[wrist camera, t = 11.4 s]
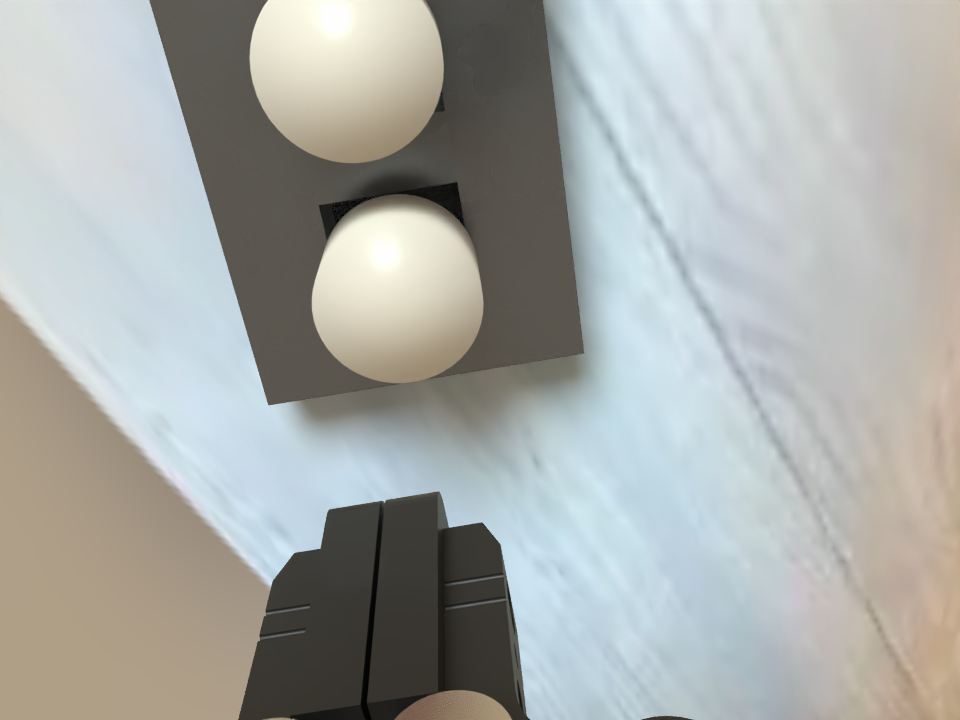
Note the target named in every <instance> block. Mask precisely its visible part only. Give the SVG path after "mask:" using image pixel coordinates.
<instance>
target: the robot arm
mask: <svg viewBox="0 0 960 720" xmlns="http://www.w3.org/2000/svg"><path fill="white" fill-rule="evenodd" d="M238 720H530V719H529V718H528V717H527V715H526V706H525V697H524V690H523V680H522V671H521V664H520V653H519V644H518V635H517V629H516V623H515V618H514V613H513V608H512V602H511V597H510V592H509V587H508V581H507V576H506V571H505V566H504V561H503V555H502V550H501V545H500V543H499V542H498V541H497V540H496V538H495V537H494V536H493V535H492V534H491V532H490V531H489V530H488V529H487V528H486V526H485V525H484V524H483V523H476V524H470V525H464V526H458V527H452V528H449V526H448V522H447V517H446V513H445V508H444V504H443V500H442V497H441V494H440V492H433V493H427V494H421V495H414V496H408V497H402V498H396V499H390V500H386V502H385V503H384V502H383V501H379V502H373V503H366V504H360V505H354V506H348V507H342V508H336V509H330V510H329V511H328V513H327V517H326V522H325V528H324V533H323V539H322V544H321V549H316V550H310V551H304V552H298V553H294V554H293V556H292V557H291V558H290V560H289V561H288V562H287V563H286V565H285V566H284V567H283V569H282V570H281V571H280V572H279V574H278V575H277V576H276V578H275V579H274V580H273V583H272V587H271V591H270V595H269V599H268V603H267V607H266V616H264V619H263V623H262V627H261V631H260V641H258V643H257V647H256V651H255V656H254V659H253V663H252V667H251V671H250V675H249V679H248V684H247V688H246V691H245V696H244V699H243V704H242V707H241V711H240V715H239V719H238ZM642 720H692V719H687V718H683V717H674V716H658V717H651V718H646V719H642Z"/></svg>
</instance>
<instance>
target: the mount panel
mask: <svg viewBox="0 0 960 720" xmlns="http://www.w3.org/2000/svg"><path fill="white" fill-rule="evenodd" d="M267 1H268V0H150V4H151V7H152V11H153V14H154V17H155V21H156V24H157V28H158V31H159V34H160V38H161V41H162V45H163V48H164V51H165V55H166V58H167V62H168V65H169V68H170V72H171V75H172V79H173V82H174V85H175V89H176V92H177V96H178V99H179V102H180V106H181V109H182V113H183V116H184V119H185V123H186V126H187V130H188V133H189V136H190V140H191V143H192V147H193V150H194V153H195V157H196V160H197V164H198V167H199V170H200V174H201V177H202V181H203V184H204V188H205V191H206V194H207V198H208V201H209V205H210V208H211V211H212V215H213V218H214V222H215V225H216V228H217V232H218V235H219V239H220V242H221V245H222V249H223V252H224V256H225V259H226V262H227V266H228V269H229V273H230V276H231V279H232V283H233V286H234V290H235V293H236V296H237V300H238V303H239V307H240V310H241V313H242V317H243V320H244V324H245V327H246V330H247V334H248V337H249V341H250V344H251V347H252V351H253V354H254V358H255V361H256V364H257V368H258V371H259V375H260V378H261V381H262V385H263V388H264V392H265V395H266V398H267V402H268V405H273V404H279V403H285V402H291V401H298V400H304V399H310V398H316V397H322V396H328V395H334V394H340V393H346V392H352V391H358V390H364V389H370V388H376V387H383V386H389V385H395V384H401V383H388V382H381V381H377V380H373V379H370V378H367V377H364V376H362V375H360V374H358V373H356V372H354V371H352V370H350V369H349V368H348V367H346V366H345V365H343V364H342V363H341V362H340V361H339V360H337V359H336V358H335V357H334V356H333V355H332V353H331V352H330V351H329V350H328V349H327V347H326V346H325V344H324V343H323V341H322V340H321V338H320V336H319V333H318V331H317V329H316V326H315V323H314V319H313V313H312V292H313V287H314V283H315V279H316V276H317V272H318V269H319V266H320V263H321V259H322V256H323V253H324V249H325V246H326V243H327V241H328V238H329V236H330V234H331V232H332V231H333V229H334V227H335V226H336V222H335V218H334V213H333V209H332V205H331V203H336V202H342V201H348V200H354V199H360V198H366V197H371V196H377V195H383V194H389V193H395V192H401V191H407V190H413V189H419V188H425V187H431V186H437V185H443V184H449V183H455V182H457V184H458V190H459V195H460V201H461V207H462V213H463V219H464V225H465V229H466V230H467V232H468V234H469V236H470V238H471V240H472V242H473V245H474V248H475V252H476V256H477V262H478V268H479V274H480V281H481V287H482V293H483V316H482V322H481V325H480V328H479V331H478V334H477V336H476V338H475V340H474V342H473V344H472V345H471V347H470V348H469V350H468V351H467V352H466V353H465V354H464V356H463V357H462V358H461V359H460V360H459V361H457V362H456V363H455V364H454V365H453V366H451V367H450V368H448V369H447V370H445V371H444V372H442V373H440V374H438V375H436V376H433V377H431V378H437V377H443V376H449V375H455V374H461V373H467V372H474V371H480V370H486V369H492V368H498V367H504V366H510V365H516V364H522V363H528V362H534V361H540V360H546V359H552V358H559V357H565V356H571V355H577V354H583V353H584V350H583V341H582V333H581V324H580V316H579V307H578V299H577V290H576V282H575V273H574V264H573V256H572V247H571V239H570V230H569V222H568V213H567V205H566V196H565V188H564V179H563V171H562V162H561V154H560V145H559V137H558V128H557V119H556V111H555V102H554V94H553V85H552V77H551V68H550V60H549V51H548V43H547V34H546V26H545V17H544V9H543V0H426V1H427V3H428V5H429V7H430V9H431V11H432V13H433V14H434V17H435V20H436V23H437V25H438V30H439V34H440V39H441V45H442V53H443V62H444V72H443V83H442V95H443V96H441V97H439V100H438V103H437V106H436V108H435V110H434V113H433V115H432V116H431V118H430V120H429V121H428V123H427V124H426V126H425V127H424V128H423V129H422V131H421V132H420V133H419V134H418V135H417V136H416V137H415V138H414V139H413V140H412V141H411V142H410V143H409V144H407V145H406V146H404V147H403V148H402V149H400V150H398V151H397V152H395V153H393V154H391V155H389V156H386V157H384V158H381V159H378V160H374V161H369V162H362V163H341V162H335V161H330V160H326V159H323V158H319V157H317V156H315V155H312V154H310V153H308V152H306V151H304V150H303V149H301V148H299V147H298V146H296V145H295V144H294V143H292V142H291V141H290V140H288V139H287V138H286V137H285V136H284V135H283V134H282V133H281V132H280V131H279V130H278V129H277V128H276V127H275V125H274V124H273V123H272V122H271V121H270V119H269V118H268V116H267V114H266V113H265V111H264V110H263V108H262V106H261V104H260V101H259V99H258V97H257V95H256V91H255V88H254V85H253V81H252V76H251V71H250V44H251V39H252V34H253V30H254V27H255V24H256V21H257V18H258V16H259V14H260V12H261V10H262V9H263V7H264V5H265V4H266V2H267ZM431 378H428V379H431Z"/></svg>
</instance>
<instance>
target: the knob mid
mask: <svg viewBox="0 0 960 720" xmlns="http://www.w3.org/2000/svg"><path fill="white" fill-rule="evenodd" d="M250 71H251V76H252V81H253V85H254V88H255V91H256V95H257V97H258V99H259V101H260V104H261V106H262V108H263V110H264V111H265V113H266V114H267V116H268V118H269V119H270V121H271V122H272V123H273V124H274V125H275V127H276V128H277V129H278V130H279V131H280V132H281V133H282V134H283V135H284V136H285V137H286V138H287V139H288V140H290V141H291V142H292V143H294V144H295V145H296V146H298V147H299V148H301V149H303V150H304V151H306V152H308V153H310V154H312V155H315V156H317V157H319V158H323V159H326V160H330V161H335V162H341V163H362V162H369V161H374V160H378V159H381V158H384V157H386V156H389V155H391V154H393V153H395V152H397V151H398V150H400V149H402V148H403V147H404V146H406V145H407V144H409V143H410V142H411V141H412V140H413V139H414V138H415V137H416V136H417V135H418V134H419V133H420V132H421V131H422V129H423V128H424V127H425V126H426V124H427V123H428V121H429V120H430V118H431V116H432V115H433V113H434V110H435V108H436V106H437V103H438V100H439V97H440V93H441V90H442V83H443V72H444V62H443V53H442V45H441V39H440V34H439V30H438V25H437V23H436V20H435V17H434V14H433V13H432V11H431V9H430V7H429V5H428V3H427V2H426V0H268V1H267V2H266V4H265V5H264V7H263V9H262V10H261V12H260V14H259V16H258V18H257V21H256V24H255V27H254V30H253V34H252V39H251V44H250Z"/></svg>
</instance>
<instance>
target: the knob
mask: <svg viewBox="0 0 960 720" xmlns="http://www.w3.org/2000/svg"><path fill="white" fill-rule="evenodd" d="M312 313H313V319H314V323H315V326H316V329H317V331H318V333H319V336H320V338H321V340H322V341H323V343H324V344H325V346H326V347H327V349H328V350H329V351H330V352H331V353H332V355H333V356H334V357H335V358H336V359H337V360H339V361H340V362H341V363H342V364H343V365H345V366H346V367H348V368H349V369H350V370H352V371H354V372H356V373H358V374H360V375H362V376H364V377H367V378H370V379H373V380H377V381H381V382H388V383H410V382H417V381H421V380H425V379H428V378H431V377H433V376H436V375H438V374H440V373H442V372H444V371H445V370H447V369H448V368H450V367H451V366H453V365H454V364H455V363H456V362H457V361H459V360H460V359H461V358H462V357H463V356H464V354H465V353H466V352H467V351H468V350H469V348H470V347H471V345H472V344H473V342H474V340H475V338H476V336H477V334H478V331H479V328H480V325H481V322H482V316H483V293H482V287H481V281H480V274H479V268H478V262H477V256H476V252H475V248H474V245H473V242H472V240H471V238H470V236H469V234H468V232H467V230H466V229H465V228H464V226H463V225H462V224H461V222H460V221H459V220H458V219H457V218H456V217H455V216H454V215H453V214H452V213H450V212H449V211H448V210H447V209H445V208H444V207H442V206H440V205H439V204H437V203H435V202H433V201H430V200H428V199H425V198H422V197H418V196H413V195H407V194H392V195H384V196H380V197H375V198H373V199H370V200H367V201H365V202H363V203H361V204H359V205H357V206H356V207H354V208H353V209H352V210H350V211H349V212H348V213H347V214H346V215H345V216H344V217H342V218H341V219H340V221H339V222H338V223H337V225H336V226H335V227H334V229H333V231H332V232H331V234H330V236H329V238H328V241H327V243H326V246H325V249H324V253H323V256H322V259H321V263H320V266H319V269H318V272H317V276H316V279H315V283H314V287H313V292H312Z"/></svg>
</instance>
